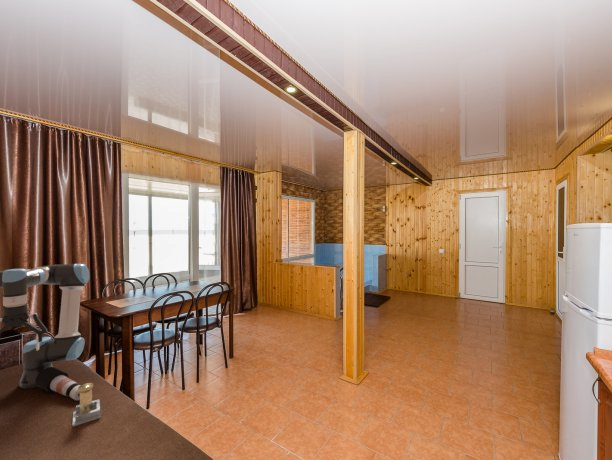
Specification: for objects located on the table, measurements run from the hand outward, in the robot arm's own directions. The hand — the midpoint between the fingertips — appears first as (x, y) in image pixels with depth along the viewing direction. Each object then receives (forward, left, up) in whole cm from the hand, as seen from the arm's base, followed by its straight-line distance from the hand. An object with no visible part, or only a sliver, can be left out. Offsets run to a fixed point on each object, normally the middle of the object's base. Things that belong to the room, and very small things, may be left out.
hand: (16, 353), depth 129 cm
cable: (-17, +15, -32) cm, 40 cm away
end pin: (+10, +24, -31) cm, 40 cm away
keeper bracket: (+10, +24, -32) cm, 41 cm away
